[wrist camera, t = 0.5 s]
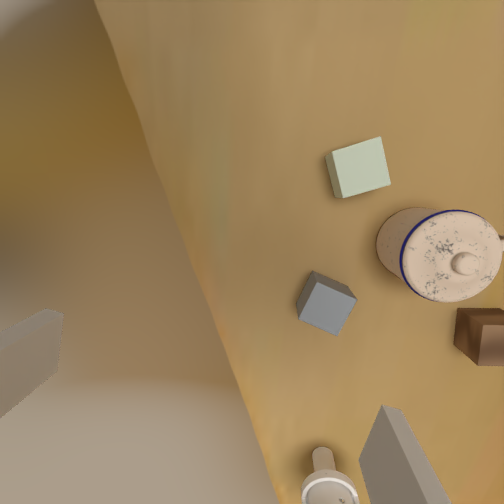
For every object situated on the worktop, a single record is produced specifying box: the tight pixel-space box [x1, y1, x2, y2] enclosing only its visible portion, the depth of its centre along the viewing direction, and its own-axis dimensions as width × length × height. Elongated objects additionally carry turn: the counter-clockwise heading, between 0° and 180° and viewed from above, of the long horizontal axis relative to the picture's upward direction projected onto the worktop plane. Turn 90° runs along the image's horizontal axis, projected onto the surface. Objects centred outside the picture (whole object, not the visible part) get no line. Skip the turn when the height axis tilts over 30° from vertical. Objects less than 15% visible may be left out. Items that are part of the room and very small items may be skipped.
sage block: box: [325, 136, 391, 198], centre depth 34 cm, size 5×5×5 cm
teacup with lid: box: [376, 208, 504, 302], centre depth 31 cm, size 12×9×12 cm
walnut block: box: [454, 308, 504, 366], centre depth 36 cm, size 5×5×5 cm
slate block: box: [296, 271, 357, 336], centre depth 37 cm, size 5×5×5 cm
